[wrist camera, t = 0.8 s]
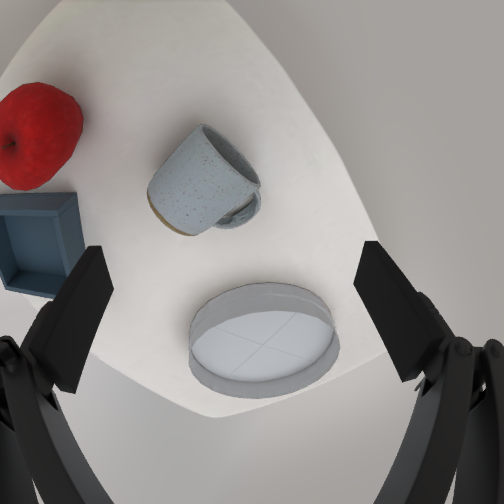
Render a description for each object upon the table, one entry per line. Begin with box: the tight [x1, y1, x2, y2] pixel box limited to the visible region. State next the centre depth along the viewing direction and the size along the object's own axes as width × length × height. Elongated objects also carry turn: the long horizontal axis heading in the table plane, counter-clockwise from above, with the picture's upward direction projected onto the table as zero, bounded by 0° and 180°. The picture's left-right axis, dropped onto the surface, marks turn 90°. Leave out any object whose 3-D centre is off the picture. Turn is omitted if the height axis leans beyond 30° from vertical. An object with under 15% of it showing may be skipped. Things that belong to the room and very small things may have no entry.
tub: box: [0, 193, 85, 299], centre depth 27 cm, size 13×14×5 cm
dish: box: [189, 283, 340, 399], centre depth 40 cm, size 22×22×5 cm
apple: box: [0, 82, 83, 191], centre depth 18 cm, size 10×10×11 cm
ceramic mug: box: [147, 124, 261, 236], centre depth 25 cm, size 11×8×8 cm
